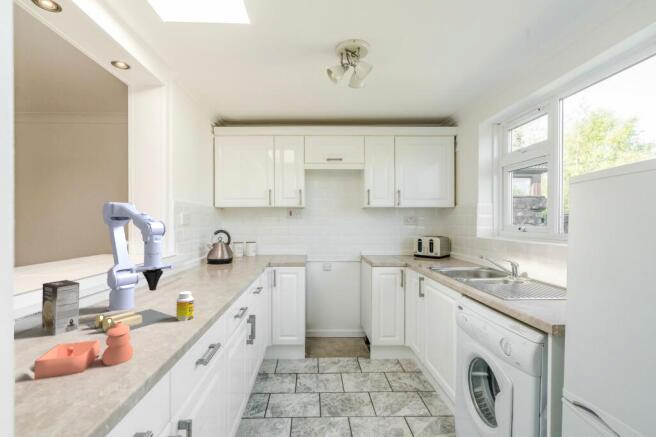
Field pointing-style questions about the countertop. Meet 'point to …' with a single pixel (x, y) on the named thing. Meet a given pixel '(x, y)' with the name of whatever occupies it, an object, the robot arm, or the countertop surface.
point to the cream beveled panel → (127, 319)
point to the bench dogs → (102, 323)
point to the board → (144, 319)
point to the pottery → (85, 354)
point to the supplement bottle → (185, 306)
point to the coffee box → (60, 307)
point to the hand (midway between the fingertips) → (152, 290)
